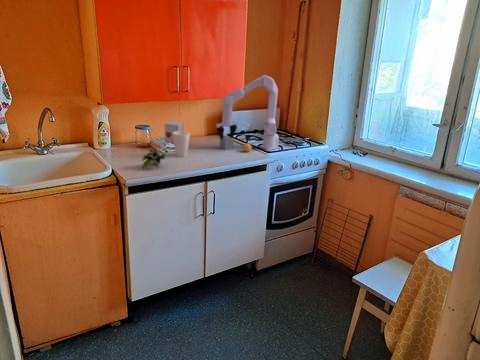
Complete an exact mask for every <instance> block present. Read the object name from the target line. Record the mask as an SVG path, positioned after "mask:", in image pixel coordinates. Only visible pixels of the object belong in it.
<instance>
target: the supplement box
mask: <svg viewBox="0 0 480 360" xmlns="http://www.w3.org/2000/svg"><path fill="white" fill-rule="evenodd" d="M175 131H185V130H184V121H175V120H169V121H167V122H165V123H164V143H165V142H166V143H171V144H174V139H173V132H175Z"/></svg>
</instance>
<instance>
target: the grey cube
mask: <svg viewBox="0 0 480 360" xmlns="http://www.w3.org/2000/svg"><path fill="white" fill-rule="evenodd" d="M234 140H235V139H234V137H233V138H231V137H230V135H226V136H223V139H220V138H219V148H220V149H222V150H224V151H226V150H232V149H234Z"/></svg>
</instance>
